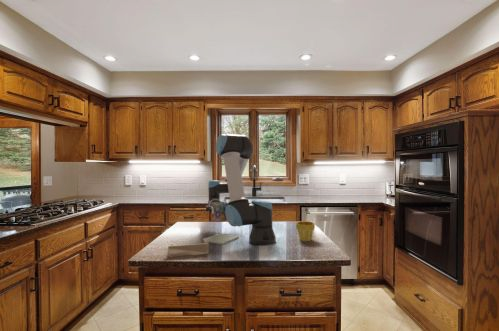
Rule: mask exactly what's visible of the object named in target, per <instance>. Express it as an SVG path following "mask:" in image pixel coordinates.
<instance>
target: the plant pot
mask: <svg viewBox="0 0 499 331" xmlns="http://www.w3.org/2000/svg"><path fill="white" fill-rule="evenodd" d="M295 227H296V228H295V229H297V234H298V239H299V241H301V242H310V241H312V239H313V238H312V237H313V232H314V230H315V222H313V221H309V220H308V221H305V220H304V221H303V220H301V221H297V222H296V223H295Z"/></svg>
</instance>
